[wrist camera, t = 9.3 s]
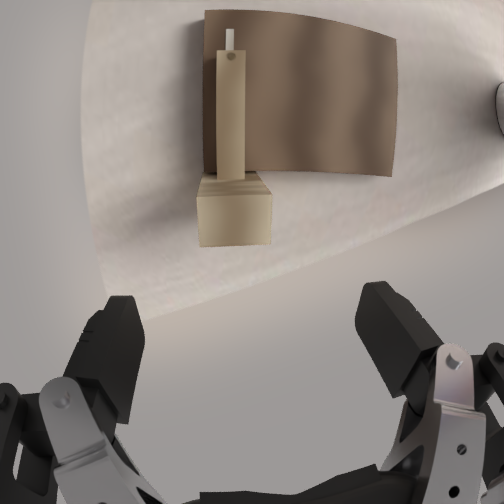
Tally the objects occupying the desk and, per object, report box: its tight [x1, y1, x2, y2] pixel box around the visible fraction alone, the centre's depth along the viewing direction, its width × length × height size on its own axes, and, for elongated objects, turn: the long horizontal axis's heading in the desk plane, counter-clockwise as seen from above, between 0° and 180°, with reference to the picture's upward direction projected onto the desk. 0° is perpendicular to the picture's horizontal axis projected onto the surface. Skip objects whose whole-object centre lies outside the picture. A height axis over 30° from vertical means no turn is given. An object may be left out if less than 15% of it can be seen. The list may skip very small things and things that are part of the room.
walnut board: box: [203, 10, 398, 177], centre depth 20 cm, size 17×14×2 cm
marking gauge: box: [196, 50, 272, 247], centre depth 18 cm, size 4×13×8 cm, turn 0°
